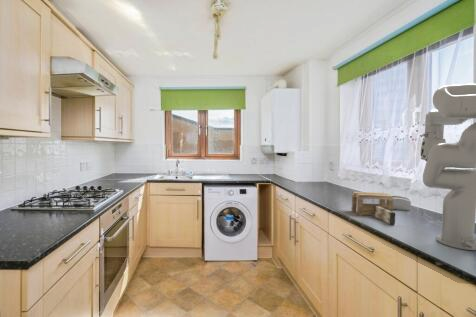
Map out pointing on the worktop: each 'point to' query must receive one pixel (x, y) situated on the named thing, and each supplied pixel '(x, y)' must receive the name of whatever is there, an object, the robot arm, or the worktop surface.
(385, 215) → the mottled brown block
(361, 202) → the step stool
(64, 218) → the worktop surface
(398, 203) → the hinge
